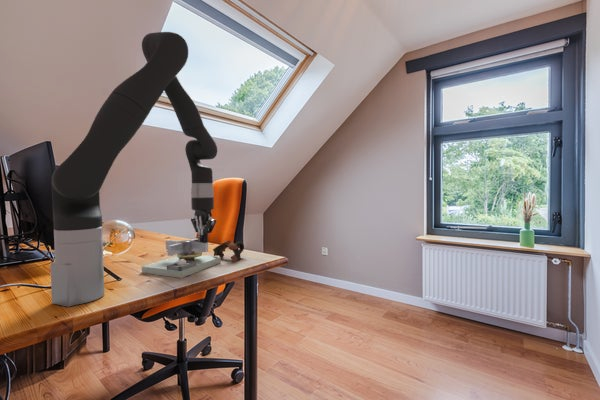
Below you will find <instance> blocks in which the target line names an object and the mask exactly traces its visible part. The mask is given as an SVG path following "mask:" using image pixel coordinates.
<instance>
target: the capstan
mask: <svg viewBox="0 0 600 400" xmlns="http://www.w3.org/2000/svg"><path fill="white" fill-rule="evenodd" d="M165 250H167V256H169V257H173V256H174V255H176V256H177V257H178V258H179V260H180V259H184V260H186V261H194V260H195V257H199V256H201V255H203V253H207V252H209V242H200V235H199V236H196V238H192V239H185V240H177V239H176V240H174V239H173V240H171V239H168V240H165Z"/></svg>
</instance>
